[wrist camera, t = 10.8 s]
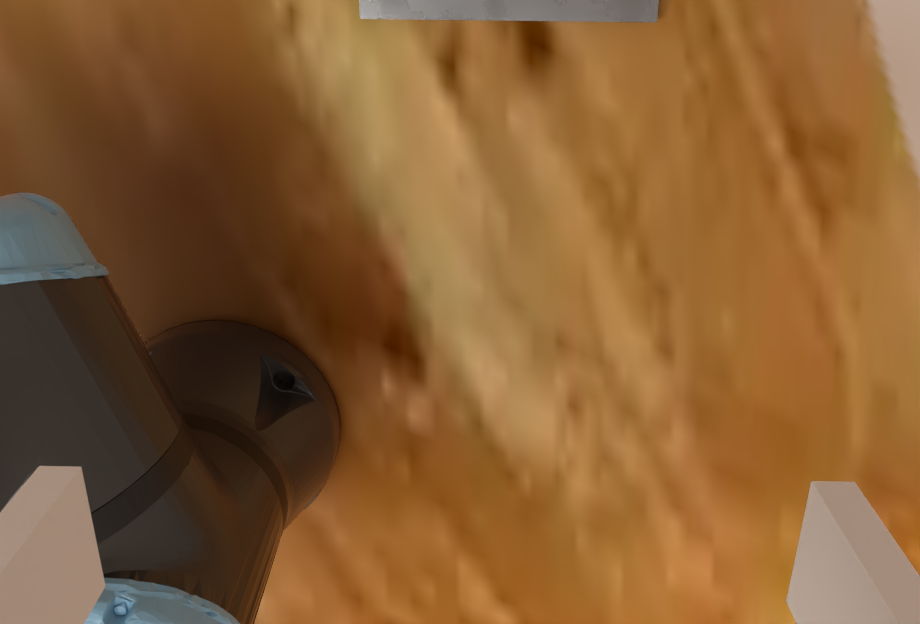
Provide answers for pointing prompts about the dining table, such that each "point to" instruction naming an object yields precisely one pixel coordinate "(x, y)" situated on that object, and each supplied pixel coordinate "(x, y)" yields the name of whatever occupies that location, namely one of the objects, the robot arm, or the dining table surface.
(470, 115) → the dining table surface
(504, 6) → the stand
